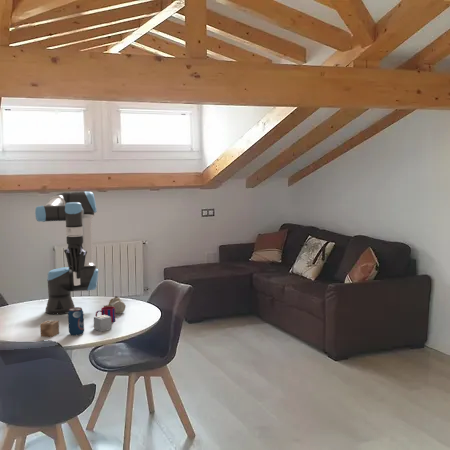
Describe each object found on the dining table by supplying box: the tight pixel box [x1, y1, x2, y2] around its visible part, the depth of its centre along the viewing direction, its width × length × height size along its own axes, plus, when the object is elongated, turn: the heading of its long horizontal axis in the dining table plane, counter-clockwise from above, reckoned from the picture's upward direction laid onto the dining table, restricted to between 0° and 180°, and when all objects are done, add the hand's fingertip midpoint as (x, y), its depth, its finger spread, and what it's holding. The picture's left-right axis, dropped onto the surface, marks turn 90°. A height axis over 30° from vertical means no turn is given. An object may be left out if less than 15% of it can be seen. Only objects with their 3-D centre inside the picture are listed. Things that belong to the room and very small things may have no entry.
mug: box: [95, 306, 116, 324], centre depth 284 cm, size 7×10×7 cm
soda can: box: [67, 306, 85, 337], centre depth 264 cm, size 7×7×12 cm
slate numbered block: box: [93, 314, 113, 333], centre depth 272 cm, size 6×6×6 cm
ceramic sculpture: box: [103, 295, 127, 315], centre depth 304 cm, size 11×9×15 cm
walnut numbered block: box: [39, 320, 60, 338], centre depth 264 cm, size 6×6×6 cm
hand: (77, 284), depth 268 cm, fingers closed
